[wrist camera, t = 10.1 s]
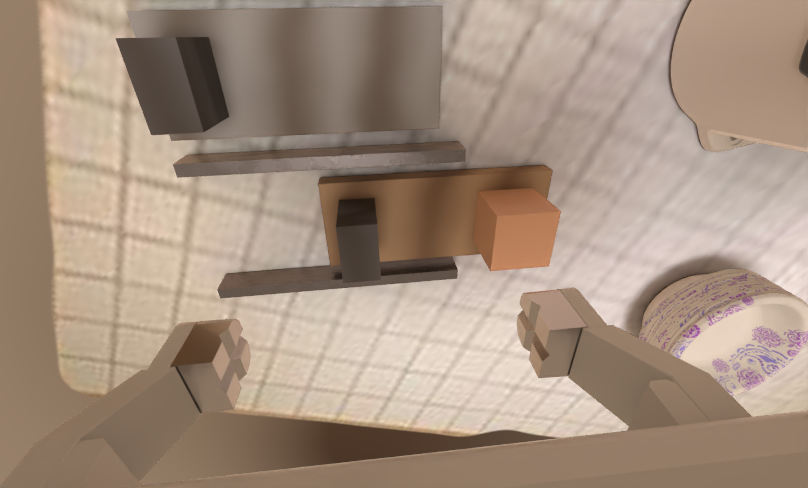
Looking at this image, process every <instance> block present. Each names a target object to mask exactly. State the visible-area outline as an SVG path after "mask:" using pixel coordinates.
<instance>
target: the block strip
mask: <svg viewBox="0 0 808 488" xmlns="http://www.w3.org/2000/svg"><path fill="white" fill-rule="evenodd" d="M552 171H553V170H551V169H550V168H548V167H547V166H545V165H537V166H520V167H502V168H485V169H467V170H450V171H433V172H415V173H398V174H380V175H363V176H345V177H328V178H320V179H319V183H318V186H319V193H320V199H321V206H322V213H323V219H324V226H325V233H326V240H327V246H328V253H329V260H330V266H334V265H341V271H342V278H343V283H352V282H364V281H376V280H381V272H380V262H385V261H398V260H411V259H423V258H436V257H449V256H461V255H474V254H481V253H480V252H479V250H478V248H477V246H476V245H475V243H474V241H473V240H474V229H475V218H476V207H477V196H478V191H490V190H506V189H522V188H534V189H535V190H536V191H537V192H539V193H540V194H541V195H542V196H543V197H544V198H546V199H547V197H548V191H549V186H550V181H551V176H552Z"/></svg>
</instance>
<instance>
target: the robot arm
mask: <svg viewBox="0 0 808 488" xmlns="http://www.w3.org/2000/svg"><path fill="white" fill-rule="evenodd" d="M671 82H672V88H673V92H674V95H675V98H676V100H677V102H678V104H679V106H680V107H681V109H682V110H683V111H684V112H685V113H686V114H687V115H688V116H689V117H690V118H691V119H692V120H693V121H694V122H695V124H696V125H697V129H698V134H699V139H700V142H701V145H702V147H703V148H704V149H706V150H709V151H715V152H721V151H726V150H729V149H733V148H737V147H741V146H745V145H749V144H753V143H757V142H758V143H763V144H768V145H773V146H778V147H783V148H788V149H793V150H798V151H803V152H808V0H692V1H691V2H690V4H689V6H688V8H687V10H686V12H685V15H684V17H683V19H682V22H681V24H680V27H679V30H678V33H677V36H676V39H675V43H674V47H673V53H672V60H671ZM520 305H521V307H522V309H523V311H522V312H521V313H520V314H519V315H518V319H517V330H518V336H519V339H520V341H521V344H522V346H523V347H524V348H525V349H527V350H528V351H530V357H529V360H530V362H531V364H532V366H533V368H534V370H535V372H536V374H537V376H538V378H547V377H560V376H569V378H570V379H571V380H572V381H574V382H575V383H576V384H577V385H579V386H580V387H581V388H582V389H583V390H585V391H586V392H587V393H588V394H590V395H591V396H592V397H593V398H595V399H596V400H597V401H598V402H600V403H601V404H602V405H603V406H605V407H606V408H607V409H608V410H610V411H611V412H612V413H613V414H614V415H616V416H617V417H618V418H619V419H621V420H622V421H623V422H624V423H626V424H627V425H628V426H629V427H628V429H627V431H621V432H612V433H603V434H594V435H585V436H576V437H567V438H558V439H549V440H540V441H532V442H523V443H514V444H505V445H497V446H488V447H479V448H470V449H461V450H453V451H444V452H435V453H426V454H417V455H408V456H399V457H390V458H382V459H372V460H363V461H354V462H346V463H336V464H327V465H318V466H309V467H300V468H291V469H283V470H273V471H265V472H256V473H246V474H237V475H229V476H220V477H211V478H202V479H193V480H185V481H175V482H166V483H157V484H148V485H142V484H141V483H140V480H141V479H142V478H143V477H144V476H145V475H146V474H147V473H148V472H149V471H150V470H151V468H152V467H153V466H154V465H155V464H156V463H157V462H158V461H159V460H160V459H161V458H162V457H163V456H164V455H165V453H167V451H168V450H169V449H170V448H171V447H172V446H173V445H174V444H175V443H176V442H177V441H178V440H179V439H180V437H181V436H182V435H183V434H184V433H185V432H186V431H187V430H188V429H189V428H190V427H191V426H192V425H193V424H194V423H195V422H196V420H197V419H198V418H199V417H200V416H201V414H202V413H210V412H218V411H225V410H233V409H234V408H235V405H236V402H237V400H238V397H239V394H240V391H241V389H242V387H241V385H240V382H239V381H240V380H241V379H242V378H243V377H244V376H245V375H246V374H247V371H248V368H249V365H250V348H249V344H248V342H247V340H246V339H244V338H243V337H241V336H240V335H241V332H242V330H243V328H242V326H241V324H240V321H239V320H237V319H225V320H210V321H199V322H186V323H180V324H178V325H177V326H176V327H175V328H174V330H173V331H172V333H171V334H170V336H169V337H168V339H167V340H166V342H165V343H164V345H163V346H162V348H161V349H160V351H159V352H158V354H157V356H156V357H155V359H154V360H153V362H152V363H151V365H150V366H149V368H148V369H147V370H141V371H139V372H138V373H136V374H135V375H133V376H132V377H131V378H129V379H128V380H126V381H125V382H123V383H122V384H120V385H119V386H117V387H116V388H115V389H113V390H112V391H110V392H109V393H107V394H106V395H104V396H103V397H101V398H100V399H99V400H97V401H96V402H94V403H93V404H92V405H90V406H88V407H87V408H85V409H84V410H83V411H81V412H80V413H78V414H77V415H75V416H74V417H72V418H71V419H70V420H68V421H66V422H65V423H64V424H62V425H61V426H59V427H58V428H56V429H55V430H53V431H52V432H50V433H49V434H48V435H46V436H45V437H43V438H42V439H40V440H39V441H37V442H36V443H34V445H33V446H32V447H31V448H30V450H29V451H28V452H27V453H26V454H25V456H24V457H23V458H22V459H21V461H20V462H19V463H18V464H17V465H16V467H15V468H14V469H13V470H12V472H11V473H10V474H9V475H8V477H7V478H6V479H5V480H4V482H3V483H2V484H1V485H0V488H808V411H800V412H791V413H782V414H773V415H764V416H755V417H752V416H751V415H750V414H749V413H748V412H747V411H746V410H745V409H744V408H743V407H742V406H741V405H740V404H739V403H738V402H737V401H736V400H735V399H734V398H733V397H732V396H731V395H730V394H729V393H728V392H727V391H726V390H725V389H724V388H723V387H722V386H721V385H720V384H719V383H718V382H717V381H716V380H715V379H714V378H713V377H712V376H711V375H710V374H709V373H707V372H705V371H703V370H701V369H699V368H697V367H695V366H693V365H691V364H689V363H687V362H685V361H683V360H681V359H679V358H677V357H675V356H673V355H671V354H669V353H667V352H665V351H663V350H661V349H659V348H657V347H655V346H653V345H651V344H649V343H647V342H645V341H643V340H641V339H639V338H637V337H635V336H633V335H631V334H629V333H627V332H625V331H623V330H621V329H619V328H617V327H615V326H613V325H608V326H607V324H606V323H605V322H604V321H603V320H602V318H601V317H600V316H599V315H598V314H597V312H596V311H595V310H594V309H593V308H592V306H591V305H590V304H589V303H588V301H587V300H586V299H585V298H584V297H583V295H582V294H581V293H580V292H579V291H578V290H577V289H575V288H566V289H557V290H550V291H539V292H529V293H523V294H522V296H521V300H520Z"/></svg>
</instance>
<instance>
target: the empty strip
mask: <svg viewBox="0 0 808 488" xmlns="http://www.w3.org/2000/svg"><path fill="white" fill-rule="evenodd" d="M127 14H128V17H129V20H130V23H131V25H132V28H133V31H134V34H135V37H136V38H116V41H117V44H118V46H119V49H120V52H121V54H122V57H123V60H124V62H125V65H126V68H127V71H128V73H129V76H130V79H131V81H132V84H133V87H134V89H135V92H136V95H137V98H138V100H139V103H140V106H141V108H142V111H143V114H144V116H145V119H146V122H147V125H148V127H149V130H150V133H151V135H163V134H169V136H170V138H171V141H177V140H199V139H220V138H242V137H263V136H284V135H306V134H327V133H349V132H370V131H392V130H413V129H434V128H439V112H440V76H441V41H442V6H408V7H347V8H285V9H224V10H163V11H127Z"/></svg>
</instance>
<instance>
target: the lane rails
mask: <svg viewBox="0 0 808 488" xmlns="http://www.w3.org/2000/svg"><path fill="white" fill-rule="evenodd" d="M465 152H466V149H465V148H464V147H463V146H462V145H461V144H460V143H459V142H458V141H453V142H433V143H413V144H393V145H373V146H353V147H333V148H313V149H293V150H273V151H253V152H233V153H213V154H193V155H186V156H184V157H183V158H182V159H180V160H179V161H177V162H176V163H174V164H173V166H174V169H175V172H176V175H177V177H195V176H213V175H231V174H249V173H267V172H285V171H303V170H321V169H340V168H358V167H376V166H394V165H412V164H430V163H448V162H465ZM380 272H381V280H376V281H364V282H352V283H343V278H342V271H341V265H334V266H318V267H305V268H292V269H280V270H267V271H254V272H241V273H229V274H226V275H225V277H224V278H223V280H222V282H221V284H220V286H219V287H218V289H217V290H218V293H219V296H220V298H230V297H242V296H254V295H266V294H278V293H290V292H302V291H313V290H325V289H337V288H349V287H361V286H373V285H385V284H396V283H408V282H420V281H432V280H444V279H456V278H457V272H458V269H457V267H456V265H455V263H454V260H453V258H452V256H449V257H436V258H423V259H411V260H398V261H385V262H380Z"/></svg>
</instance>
